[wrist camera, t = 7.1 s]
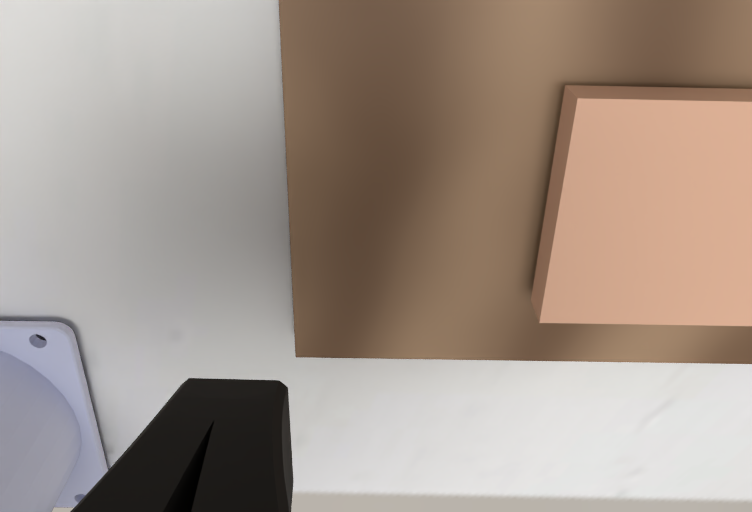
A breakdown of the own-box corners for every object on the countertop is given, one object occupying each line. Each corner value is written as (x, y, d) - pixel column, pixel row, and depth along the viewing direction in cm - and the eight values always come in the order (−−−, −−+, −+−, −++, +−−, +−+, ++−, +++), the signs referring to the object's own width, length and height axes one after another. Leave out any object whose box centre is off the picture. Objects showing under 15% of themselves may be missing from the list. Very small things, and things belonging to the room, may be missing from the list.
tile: (539, 322, 18) (765, 326, 18) (577, 97, 15) (847, 103, 15) (527, 290, 19) (735, 293, 19) (560, 79, 16) (807, 84, 16)
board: (299, 333, 21) (295, 356, 20) (283, -45, 16) (276, -40, 15) (798, 341, 21) (820, 365, 20) (950, -30, 16) (990, -24, 15)
